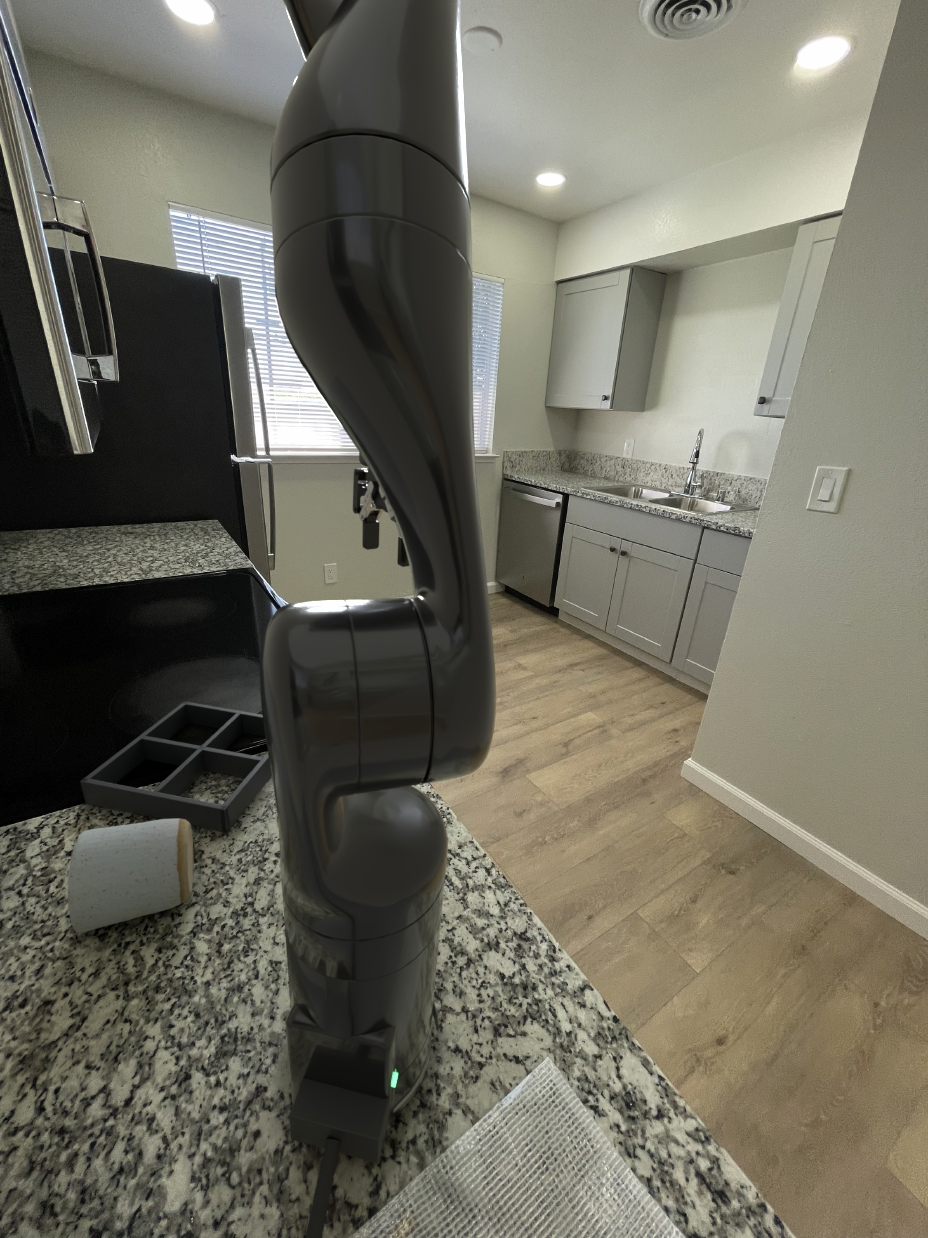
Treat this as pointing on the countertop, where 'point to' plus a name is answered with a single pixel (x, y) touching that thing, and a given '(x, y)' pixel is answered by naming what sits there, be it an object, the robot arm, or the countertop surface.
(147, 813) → the dark grey divided tray
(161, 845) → the ceramic mug
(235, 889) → the countertop surface
